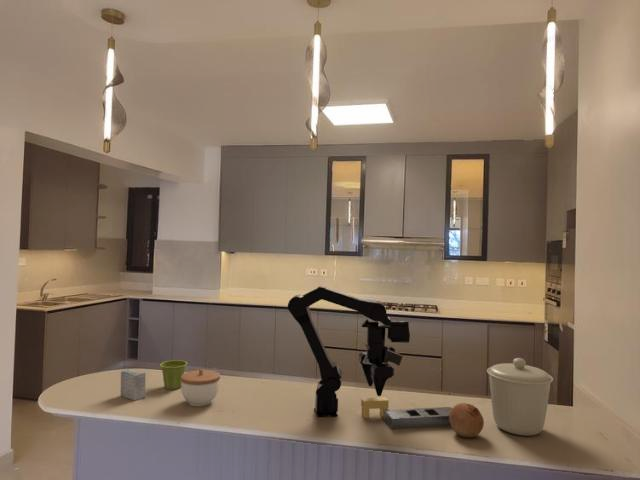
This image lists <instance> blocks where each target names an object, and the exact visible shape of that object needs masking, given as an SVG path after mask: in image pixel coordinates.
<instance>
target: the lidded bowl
mask: <svg viewBox="0 0 640 480" xmlns="http://www.w3.org/2000/svg"><path fill="white" fill-rule="evenodd" d="M220 378H221V373H219V372H218V371H215V370H212V369H211V370H210V369H202V368H200V369H198V370H191V371H187V372H184V374H183V375H182V376H181V392H182V396H183V399H185V401H186V402H188V404H189V405H190V406H192V407H204V406H207V405H210V404H212V401H213V400H214V399H215V398H216V396H217V395H218V393H219V389H220Z"/></svg>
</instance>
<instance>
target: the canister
mask: <svg viewBox="0 0 640 480" xmlns="http://www.w3.org/2000/svg"><path fill="white" fill-rule="evenodd" d="M486 373H487V374H488V378H489V388H490V399H491V408H492V416H493V420H494V423H495V424H496V425H497V427H498V428H500V429H501V430H502V431H504V432H507V433H510V434H512V435H516V436H517V435H518V436H525V437H526V436H527V437H528V436H536V435H538V434H540V433H541V432H542V431H543V429H544V426H545V421H546V416H547V411H548V404H549V398H550V397H549V396H550V391H551V384H552V382H553V381H554V378H553V376H552V375H550V374H549V372H546V370H543V369H541V368H539V367H536V366H531V365H528V364H527V363H526V360H525V359H524V358H521V357H516V358H514V359H512V363H509V362H508V363H498V364H494V365H492V366H489V367H488V368H487V369H486Z"/></svg>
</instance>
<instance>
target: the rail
mask: <svg viewBox="0 0 640 480" xmlns="http://www.w3.org/2000/svg"><path fill="white" fill-rule="evenodd" d="M452 408H453V407H452V406H441V407H421V408H420V407H419V408H398V409H397V408H396V409H388V410H384V417H383V420H384V422H385V423H386V424H387V425H388V427H389V429H390V428H391V430H397V429H398V430H399V429H401V430H402V429H416V428H417V429H418V428H419V429H420V428H434V427H435V428H437V427H451V423H450V422H449V414H450V411H451V410H452Z"/></svg>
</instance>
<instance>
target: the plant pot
mask: <svg viewBox="0 0 640 480" xmlns="http://www.w3.org/2000/svg"><path fill="white" fill-rule="evenodd" d="M159 365H160V368H161V372H162V379H163V386H164V388H165V389H166V390H170V391H171V390H175V389H178V388H179V389H180V388H181V376H182V375H183V374H185V369H186V367H187V365H188V362H187V361H185V360H181V359H180V360H177V359H175V360H166V361H163V362H161V363H160V364H159ZM181 389H182V388H181Z"/></svg>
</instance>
